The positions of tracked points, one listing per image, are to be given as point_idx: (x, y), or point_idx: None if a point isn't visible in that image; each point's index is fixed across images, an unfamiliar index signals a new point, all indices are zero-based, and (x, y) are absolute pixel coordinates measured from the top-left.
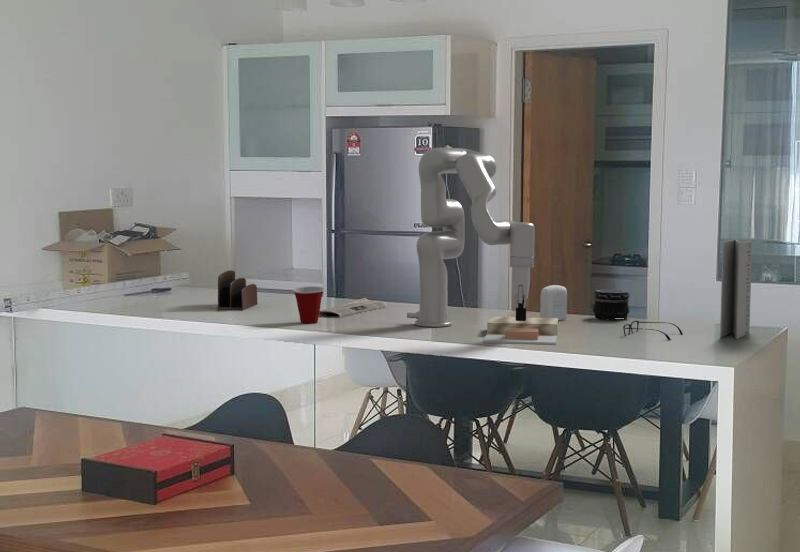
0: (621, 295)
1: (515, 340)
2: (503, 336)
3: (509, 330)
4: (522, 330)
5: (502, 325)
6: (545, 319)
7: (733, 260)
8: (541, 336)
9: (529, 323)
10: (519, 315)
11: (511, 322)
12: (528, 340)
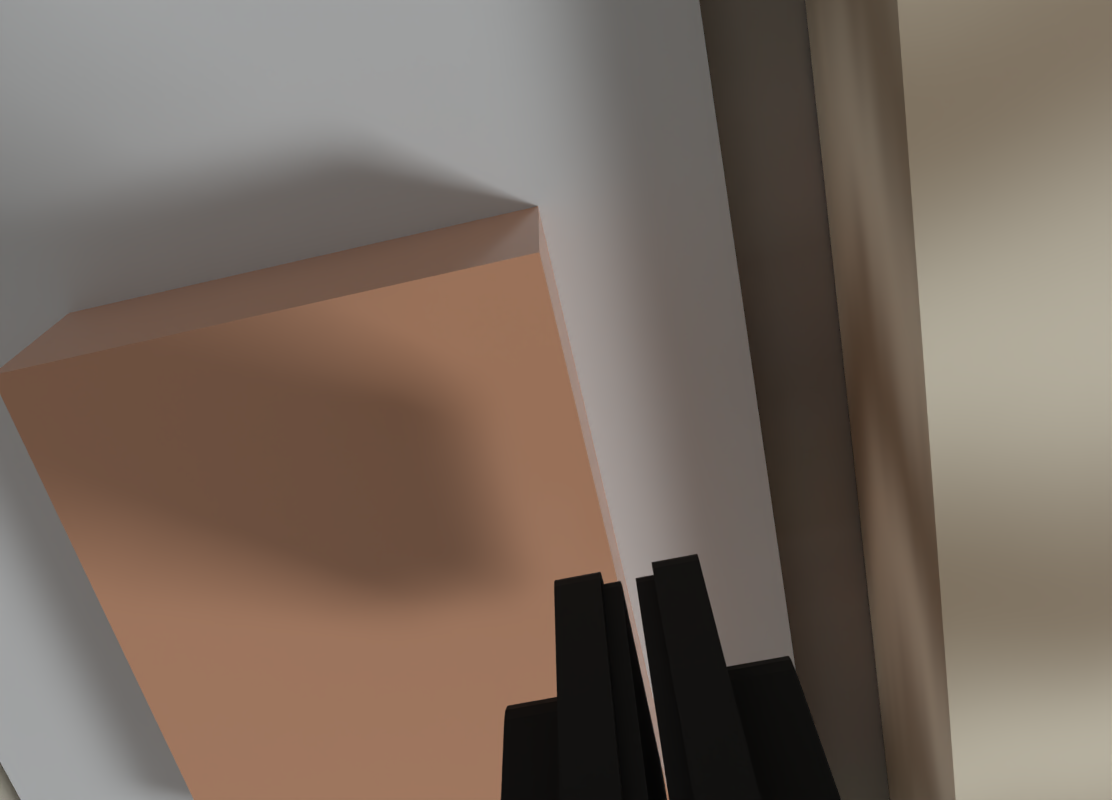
0: None
1: (4, 535)
2: (389, 181)
3: (166, 429)
4: (308, 666)
5: (881, 46)
6: None
7: None
8: None
9: (957, 699)
10: (509, 783)
11: (1052, 276)
12: (132, 718)
